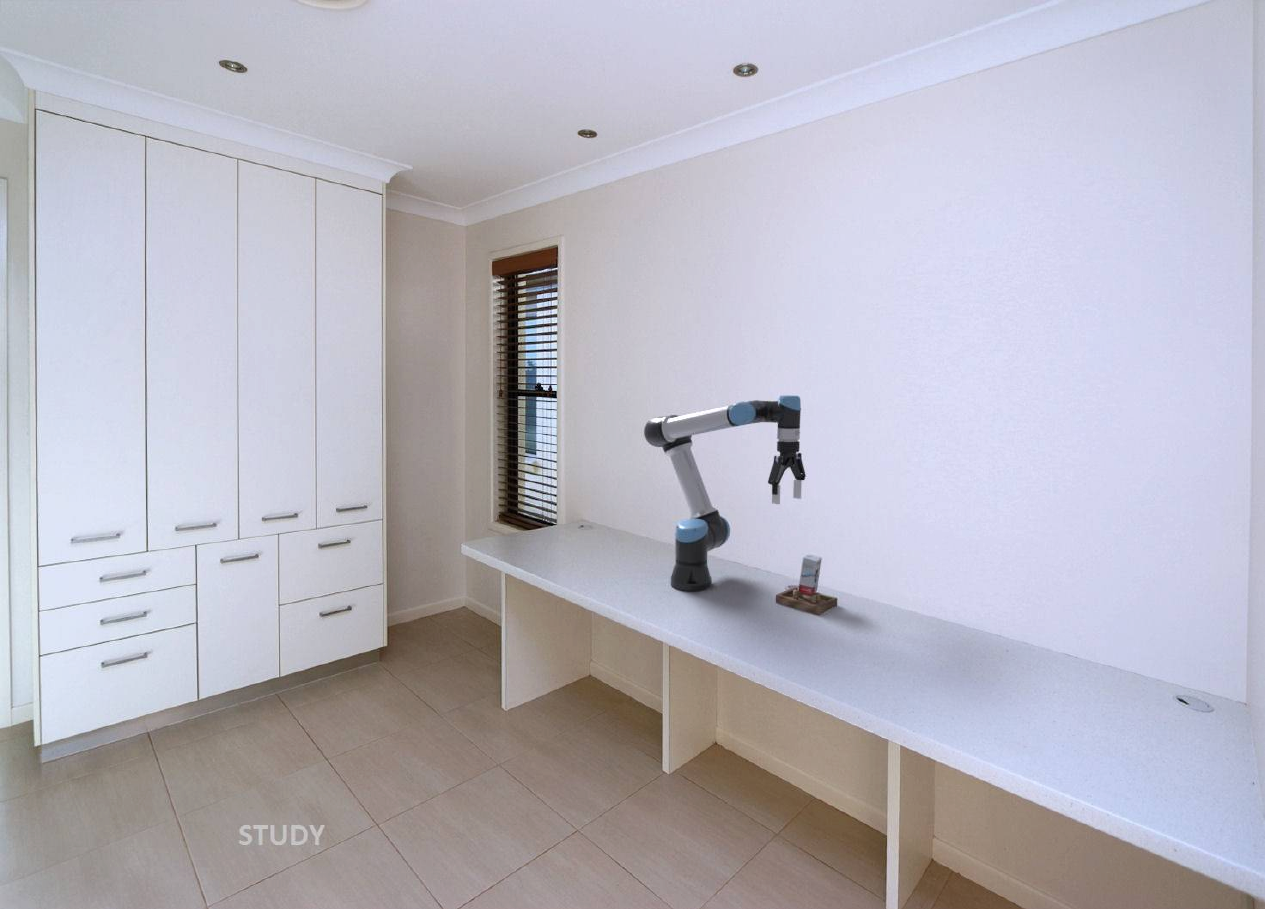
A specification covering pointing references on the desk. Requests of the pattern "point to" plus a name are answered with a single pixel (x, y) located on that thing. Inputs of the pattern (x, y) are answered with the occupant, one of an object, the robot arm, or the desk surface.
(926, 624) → the desk surface
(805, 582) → the ink box
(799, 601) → the peg frame
